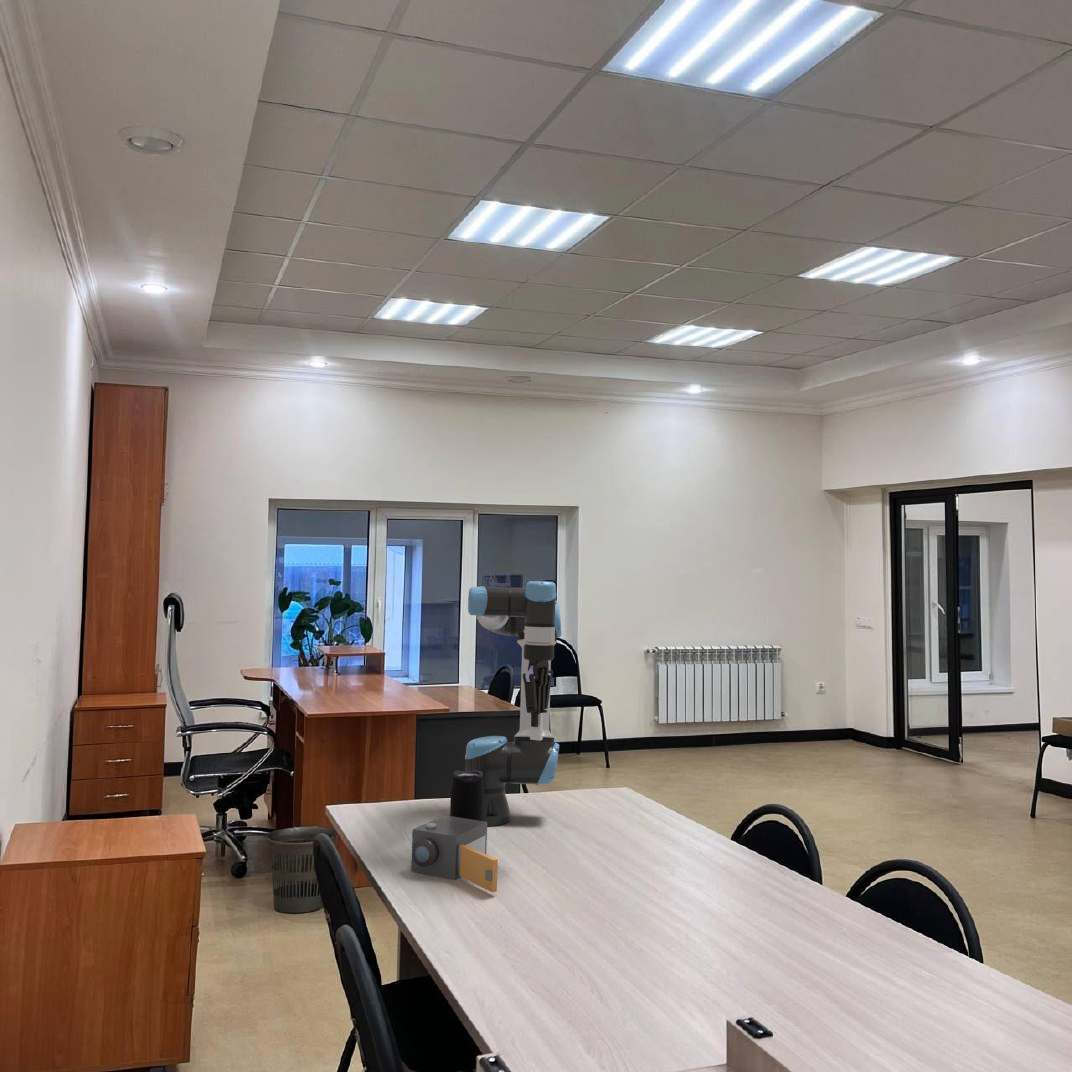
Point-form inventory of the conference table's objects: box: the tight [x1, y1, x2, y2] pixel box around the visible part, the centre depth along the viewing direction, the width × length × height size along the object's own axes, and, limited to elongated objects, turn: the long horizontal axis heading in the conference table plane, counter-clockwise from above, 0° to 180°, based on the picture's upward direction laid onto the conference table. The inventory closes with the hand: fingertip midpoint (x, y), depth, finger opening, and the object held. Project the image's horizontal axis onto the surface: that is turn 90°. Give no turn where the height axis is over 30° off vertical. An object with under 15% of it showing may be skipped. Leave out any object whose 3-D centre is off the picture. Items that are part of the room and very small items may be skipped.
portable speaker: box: [449, 770, 484, 821], centre depth 249 cm, size 9×9×20 cm
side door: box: [458, 844, 499, 893], centre depth 219 cm, size 14×2×7 cm, turn 38°
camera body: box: [410, 814, 488, 881], centre depth 232 cm, size 18×12×11 cm
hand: (536, 739), depth 239 cm, fingers closed
